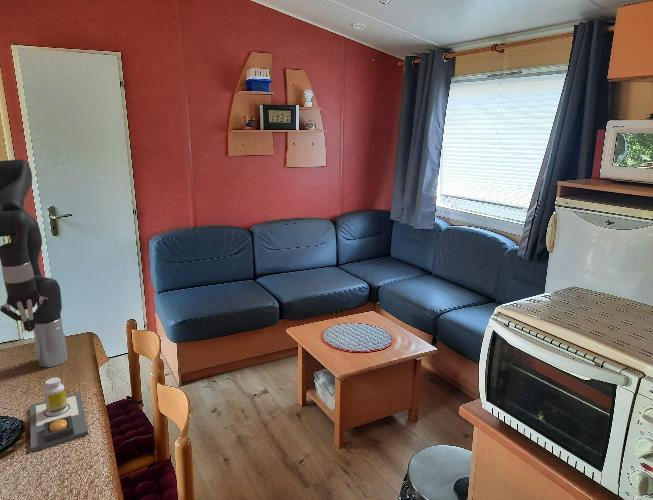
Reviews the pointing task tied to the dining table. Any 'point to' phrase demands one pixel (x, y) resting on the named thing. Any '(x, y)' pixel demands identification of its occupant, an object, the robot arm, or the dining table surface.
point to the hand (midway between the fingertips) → (30, 330)
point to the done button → (58, 425)
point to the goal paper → (44, 416)
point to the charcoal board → (45, 438)
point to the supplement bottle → (55, 396)
